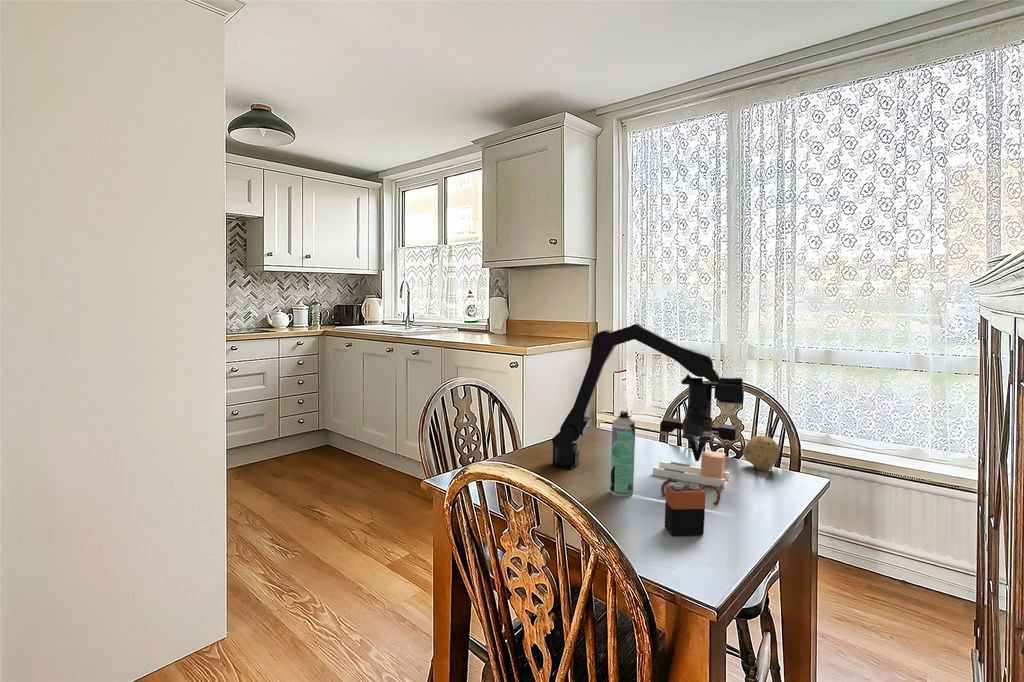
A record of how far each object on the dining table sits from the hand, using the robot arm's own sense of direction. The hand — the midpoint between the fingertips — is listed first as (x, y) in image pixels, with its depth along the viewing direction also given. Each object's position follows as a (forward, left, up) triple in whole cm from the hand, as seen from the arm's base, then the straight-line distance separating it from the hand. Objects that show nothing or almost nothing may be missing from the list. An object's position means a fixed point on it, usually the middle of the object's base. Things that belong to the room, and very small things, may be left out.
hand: (697, 460), depth 143 cm
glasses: (+1, -11, -6) cm, 12 cm away
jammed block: (+4, 0, -5) cm, 6 cm away
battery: (+4, -34, -5) cm, 35 cm away
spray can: (-14, -20, -5) cm, 24 cm away
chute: (-2, 0, -5) cm, 5 cm away
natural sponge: (+13, +18, -5) cm, 23 cm away
